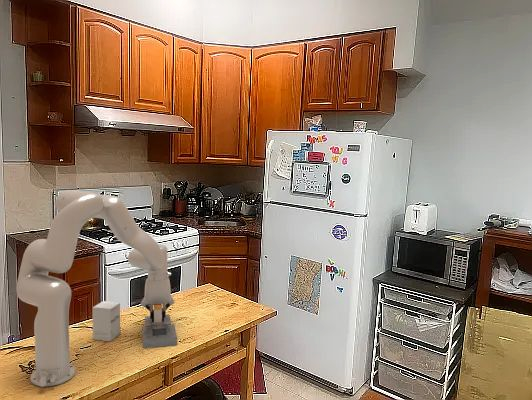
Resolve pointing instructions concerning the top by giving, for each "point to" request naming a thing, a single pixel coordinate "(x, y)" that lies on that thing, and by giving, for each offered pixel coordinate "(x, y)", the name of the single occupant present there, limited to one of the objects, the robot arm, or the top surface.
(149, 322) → the grey slotted plate
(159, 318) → the plug
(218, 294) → the top surface
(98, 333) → the supplement box
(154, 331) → the port
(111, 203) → the robot arm
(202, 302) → the top surface
